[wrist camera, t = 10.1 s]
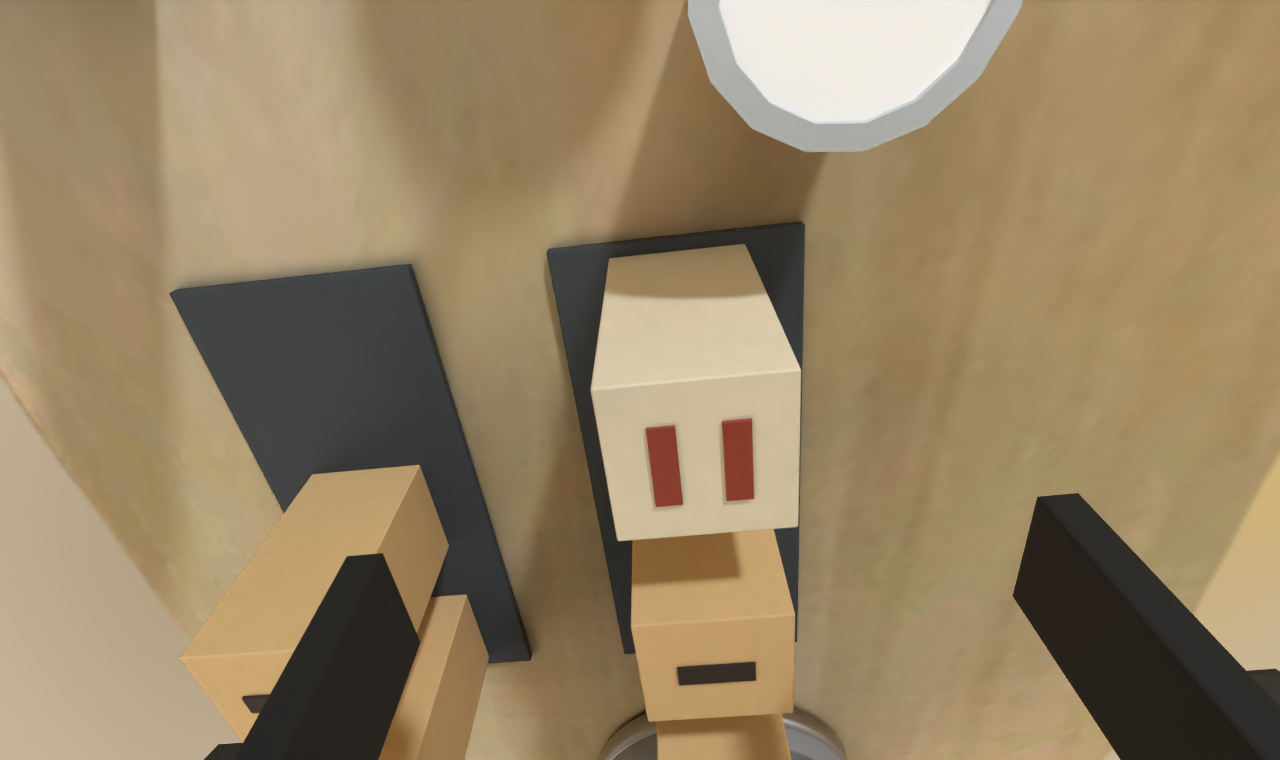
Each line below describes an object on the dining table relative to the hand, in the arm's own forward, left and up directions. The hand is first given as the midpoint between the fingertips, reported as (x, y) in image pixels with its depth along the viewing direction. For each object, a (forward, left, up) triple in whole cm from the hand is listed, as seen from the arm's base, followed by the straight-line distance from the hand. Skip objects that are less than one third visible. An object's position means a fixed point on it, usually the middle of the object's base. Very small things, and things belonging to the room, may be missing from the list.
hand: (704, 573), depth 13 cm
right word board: (-8, 0, -12) cm, 15 cm away
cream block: (0, 0, -12) cm, 12 cm away
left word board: (-8, +14, -12) cm, 20 cm away
